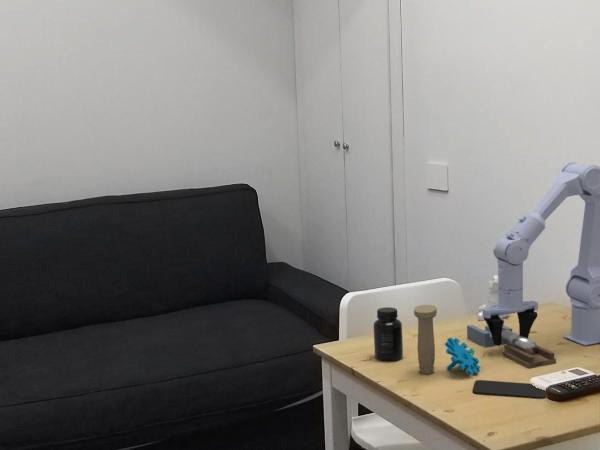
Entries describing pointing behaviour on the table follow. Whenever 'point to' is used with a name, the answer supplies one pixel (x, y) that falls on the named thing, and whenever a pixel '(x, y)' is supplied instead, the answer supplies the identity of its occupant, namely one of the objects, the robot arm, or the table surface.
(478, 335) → the v block
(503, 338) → the axle
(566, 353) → the table surface
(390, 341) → the supplement bottle
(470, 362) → the gear
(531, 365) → the brown channel tray
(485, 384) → the phone
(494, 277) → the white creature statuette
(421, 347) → the handle
